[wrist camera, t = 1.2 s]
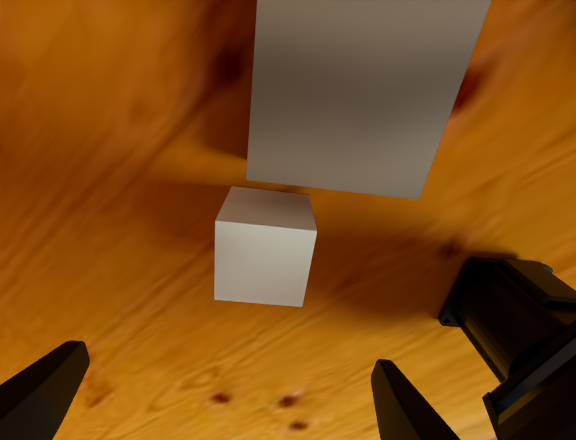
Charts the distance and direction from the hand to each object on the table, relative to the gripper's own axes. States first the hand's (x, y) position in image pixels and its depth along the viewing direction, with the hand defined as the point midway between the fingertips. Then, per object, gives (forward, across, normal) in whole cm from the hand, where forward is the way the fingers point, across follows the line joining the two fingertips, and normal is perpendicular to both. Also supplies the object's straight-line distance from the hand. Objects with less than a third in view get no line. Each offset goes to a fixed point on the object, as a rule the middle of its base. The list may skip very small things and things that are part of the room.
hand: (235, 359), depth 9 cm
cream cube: (+11, 0, +1) cm, 11 cm away
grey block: (+12, -4, -8) cm, 14 cm away
